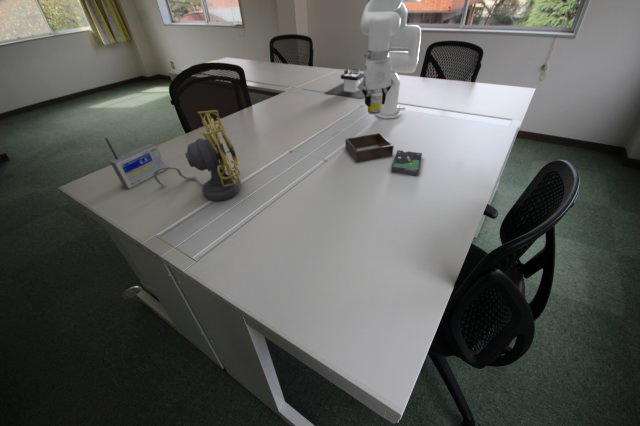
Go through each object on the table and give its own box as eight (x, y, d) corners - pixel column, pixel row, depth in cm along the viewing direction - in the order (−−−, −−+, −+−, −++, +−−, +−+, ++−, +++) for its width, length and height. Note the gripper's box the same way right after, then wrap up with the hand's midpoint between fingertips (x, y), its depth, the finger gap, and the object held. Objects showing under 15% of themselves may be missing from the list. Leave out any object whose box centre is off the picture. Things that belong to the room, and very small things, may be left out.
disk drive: (396, 155, 127) (390, 172, 116) (396, 149, 125) (391, 166, 114) (421, 158, 124) (418, 176, 113) (422, 152, 122) (419, 169, 111)
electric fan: (248, 205, 103) (228, 122, 85) (151, 224, 97) (106, 140, 78) (242, 169, 123) (224, 96, 104) (161, 184, 117) (127, 108, 98)
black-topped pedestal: (378, 87, 205) (379, 66, 196) (361, 98, 188) (362, 76, 180) (343, 83, 217) (343, 63, 209) (324, 93, 200) (323, 72, 192)
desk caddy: (378, 143, 137) (379, 133, 134) (392, 156, 126) (393, 145, 123) (345, 149, 134) (345, 138, 131) (356, 162, 123) (356, 151, 120)
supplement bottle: (372, 109, 125) (373, 83, 118) (383, 111, 122) (385, 86, 115) (364, 113, 121) (366, 87, 115) (376, 116, 119) (378, 89, 112)
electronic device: (128, 189, 115) (103, 141, 103) (119, 184, 118) (93, 138, 106) (167, 169, 126) (148, 124, 114) (157, 165, 129) (138, 121, 117)
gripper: (360, 60, 104) (358, 110, 115) (404, 54, 107) (398, 104, 118) (352, 55, 109) (351, 104, 121) (394, 50, 112) (390, 98, 124)
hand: (374, 104), depth 119 cm, fingers closed on supplement bottle, 5 cm apart
